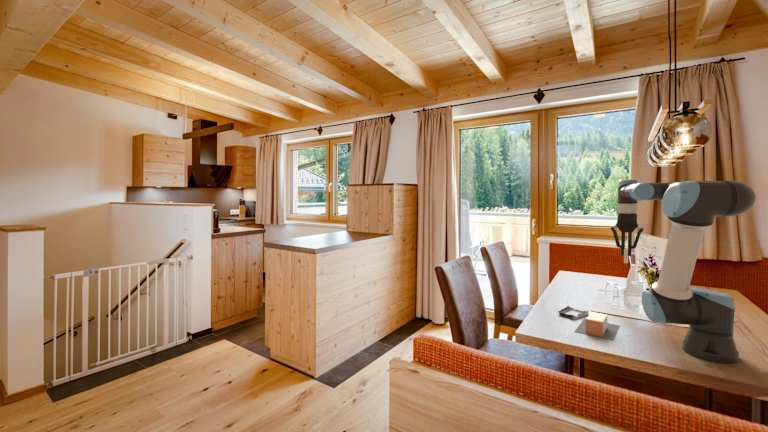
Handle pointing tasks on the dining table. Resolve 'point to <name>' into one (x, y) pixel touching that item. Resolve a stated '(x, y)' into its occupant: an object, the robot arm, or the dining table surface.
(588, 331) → the off-white block
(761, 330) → the dining table surface
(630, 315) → the dining table surface
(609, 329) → the charcoal mat
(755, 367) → the dining table surface
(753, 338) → the dining table surface
